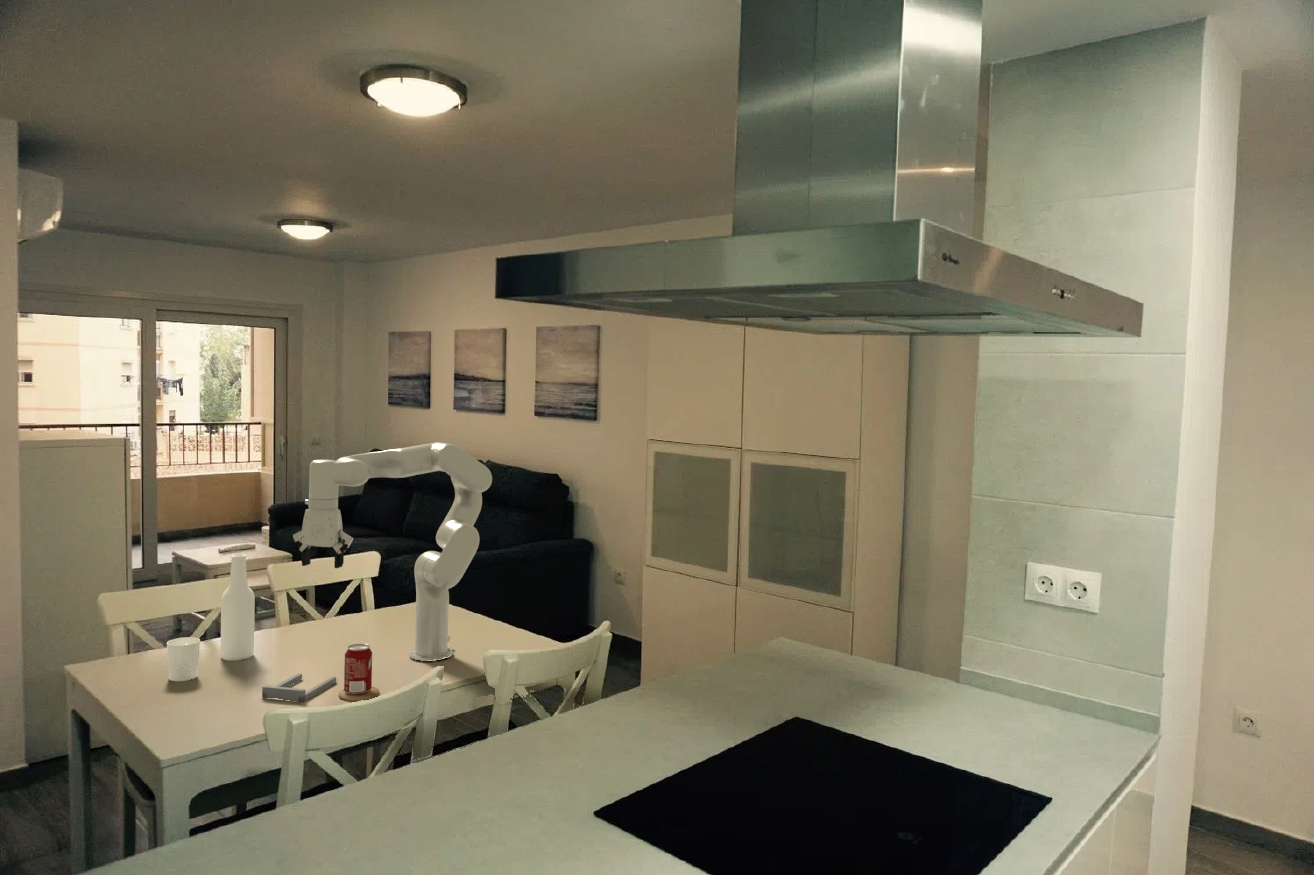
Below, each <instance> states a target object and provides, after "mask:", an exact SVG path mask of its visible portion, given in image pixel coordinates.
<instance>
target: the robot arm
mask: <svg viewBox="0 0 1314 875" xmlns="http://www.w3.org/2000/svg"><path fill="white" fill-rule="evenodd" d="M434 472H445V473H446V474H447V475H448V476H450V480H451V483H452V485H453V488H454V494H455V495H454V499H453V503H452V505H451V507H450V509H449V511H448V512H447V514H446V516H445V518H444V520H443V521H442V523H441V524H440V526H439V527H438V530H437V532H436V535H435V541H436V544H437V545H438V546H439V547H440V548H441V549H442V551H436V550H427V551H425V552H423V553H422V554H420V555H419V556H418V557H417V559H416V561H415V563H414V569H413V570H414V572H413V573H414V581H415V591H416V595H415V596H416V597H415V598H416V599H415V602H416V603H415V604H416V605H415V630H414V631H415V633H414V635H415V637H414V639H415V640H414V649H412V650H410V651H409V658H410V657H411V658H412V659H411V658H410V659H411V660H413V659H415V660H414V661H416V660H421V661H420V662H423V661H427V660H434V659H437V660H438V659H441V658H443V657H448V656H450V655H452V653H453V650H452V649H451V648H449V646H448V643H449V642H450V641H451V637H450V635H449V612H450V611H449V605H450V592H449V590H450V589H451V588H453V587H455V586H456V585H457V584H458V583H459V582H460V581H461V579H462V578H463V576H464V574H465V573H466V571H467V569H468V567H469V565H470V564H471V562H472V560H473V559H474V557H475V555H476V553H477V550H478V549H479V545H480V540H481V539H480V534H479V531H478V529H477V528H476V527H475V526H474V525H475V523H476V521H477V519H478V518H479V516H480V515H479V514H480V513H481V510H482V505H483V496H482V493H484V492H485V491H487V490H488V489H489V488H490V487H491V486H492V483H493V475H492V473H491V471H490V469H489V468H488V467H487V466H486V465H485V464H483V463H482V462H481V461H479V460H477V459H476V457H473V456H472V455H470V454H469V453H467V452H466V451H465V450H464V449H462V448H460V447H459V446H457V445H456V444H453V443H448V442H447V443H446V442H431V443H424V444H420V445H419V444H417V445H413V446H406V447H400V448H394V449H387V450H382V451H372V452H367V453H365V452H364V453H359V454H353V455H348V456H343V457H340V458H338V459H336V460H333V459H315V460H314V459H313V460H312V461H311V462H310V464H309V472H308V473H309V476H308V477H309V480H308V499H304V500H305V501H304V504H305V505H308V508H307V509H305V512H304V515H303V520H302V525H301V526H302V528H301V530H300V531H298V532H296V533H294V534H292V538H293V540H294V542H295V545H296V547H297V548H298V549H299V551H300V552H301V553H300V554H301V555H300V556H301V557H300V560H301V566H302V567H306V566H308V565H311V559H312V558H311V557H312V556H311V555H312V554H311V552H312V551H311V549H310V548H311V547H317V548H318V547H319V548H320V547H321V548H333V549H334V551H335V552H336V553H335V554H334V569H339V568H342V567H343V565H344V558H345V556H344V554H345V552H346V551H347V550H348V549H349V548H351V544H352V543H353V540H354V538H353V536H351V535H349V534H348V533H346V532H344V531H343V528H344V527H343V521H342V520H343V519H342V513H341V509H339V486H344V487H345V486H346V487H361V486H363V485H364V484H366V483H367V482H368V480H369V479H372V478H373V479H375V478H390V479H392V478H393V479H398V478H403V479H404V478H409V477H412V476H416V475H424V474H428V473H434ZM343 540H344V543H343ZM452 656H453V655H452Z"/></svg>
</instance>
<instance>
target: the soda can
mask: <svg viewBox="0 0 1314 875" xmlns="http://www.w3.org/2000/svg"><path fill="white" fill-rule="evenodd" d="M370 647H371V646H370V644H368V643H354V644H350V645H348V646H347V649H346V651H345V653H344V672H343V674H344V675H343V677H344V680H343V681H344V682H343V689H344V691H345V692H346V693H348V694H350V695H362V694H365V693H367V692H368V691H370V690H371V687H373V686H372V684H373V683H372V682H373V681H372V680H373V679H372V678H373V674H372V673H373V651H372V650H371V648H370Z"/></svg>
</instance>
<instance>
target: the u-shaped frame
mask: <svg viewBox="0 0 1314 875" xmlns="http://www.w3.org/2000/svg"><path fill="white" fill-rule="evenodd" d="M300 679H302V680H303V673H297V674H294V675H293V676H290V677H289V678H288V679H286V680H284V681H281V682H279V683H277V684H276V685H263V686H262V687H261V698H262V697H263V698H278V699H283V700H290V701H289V702H291V701H296V702H295V703H301V702H302V703H304V702H306V701H308V700H309V699H311V698H312V697H315V696H316V695H318V694H319V693H321V692H323V691H324V690H326V689H328V688H329V687H331V686H333V685H335V684H336V683H337V676H331V677H328V678H327V679H325V680H324V681H322V682H321V683H319V684H316V685H315V686H313V687H312V688H309V689H308V690H307V691H306V689H303V688H294V687H290V686H289V685H291V684H293V683H294V684H296V683H298V682H300V681H301V680H300ZM299 680H300V681H299ZM297 681H298V682H297ZM295 682H296V683H295ZM294 684H293V685H294ZM287 686H289V687H287ZM291 686H292V685H291ZM286 687H287V688H286Z"/></svg>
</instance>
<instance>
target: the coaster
mask: <svg viewBox="0 0 1314 875" xmlns="http://www.w3.org/2000/svg"><path fill="white" fill-rule="evenodd" d="M379 694H380V689H379V688H377V687H375V686H372V687H371V690H370V691H368V692H367V693H365V694H362V695H350V694H348V693H346V692H345V691H344V688H343V689H342V690H340V691H339V692H338V694H337V695H338V696H337V697H338V698H339V699H340V700H343V701H347V702H360V701H359V700H363V701H367V700H366V699H369V698H372V699H374V698H377V697H378V695H379ZM373 697H374V698H373ZM369 700H370V699H369Z"/></svg>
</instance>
